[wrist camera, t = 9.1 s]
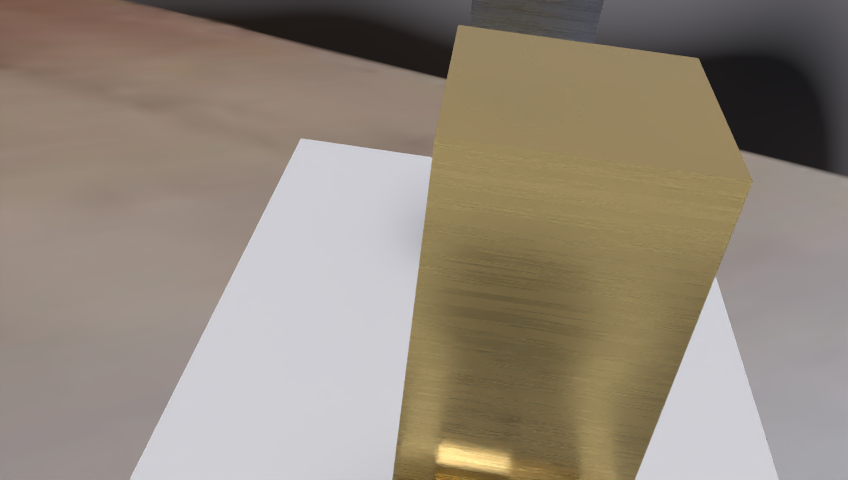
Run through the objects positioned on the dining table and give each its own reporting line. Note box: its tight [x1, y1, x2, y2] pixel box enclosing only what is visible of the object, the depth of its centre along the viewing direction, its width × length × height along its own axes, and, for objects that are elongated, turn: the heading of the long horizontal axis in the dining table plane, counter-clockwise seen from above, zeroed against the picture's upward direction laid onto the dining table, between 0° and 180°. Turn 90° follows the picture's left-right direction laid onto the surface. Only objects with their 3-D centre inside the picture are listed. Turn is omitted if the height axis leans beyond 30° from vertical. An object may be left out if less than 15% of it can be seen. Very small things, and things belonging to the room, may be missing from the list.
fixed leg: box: [469, 0, 604, 44], centre depth 22 cm, size 3×3×10 cm
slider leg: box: [392, 25, 753, 480], centre depth 12 cm, size 3×3×10 cm
